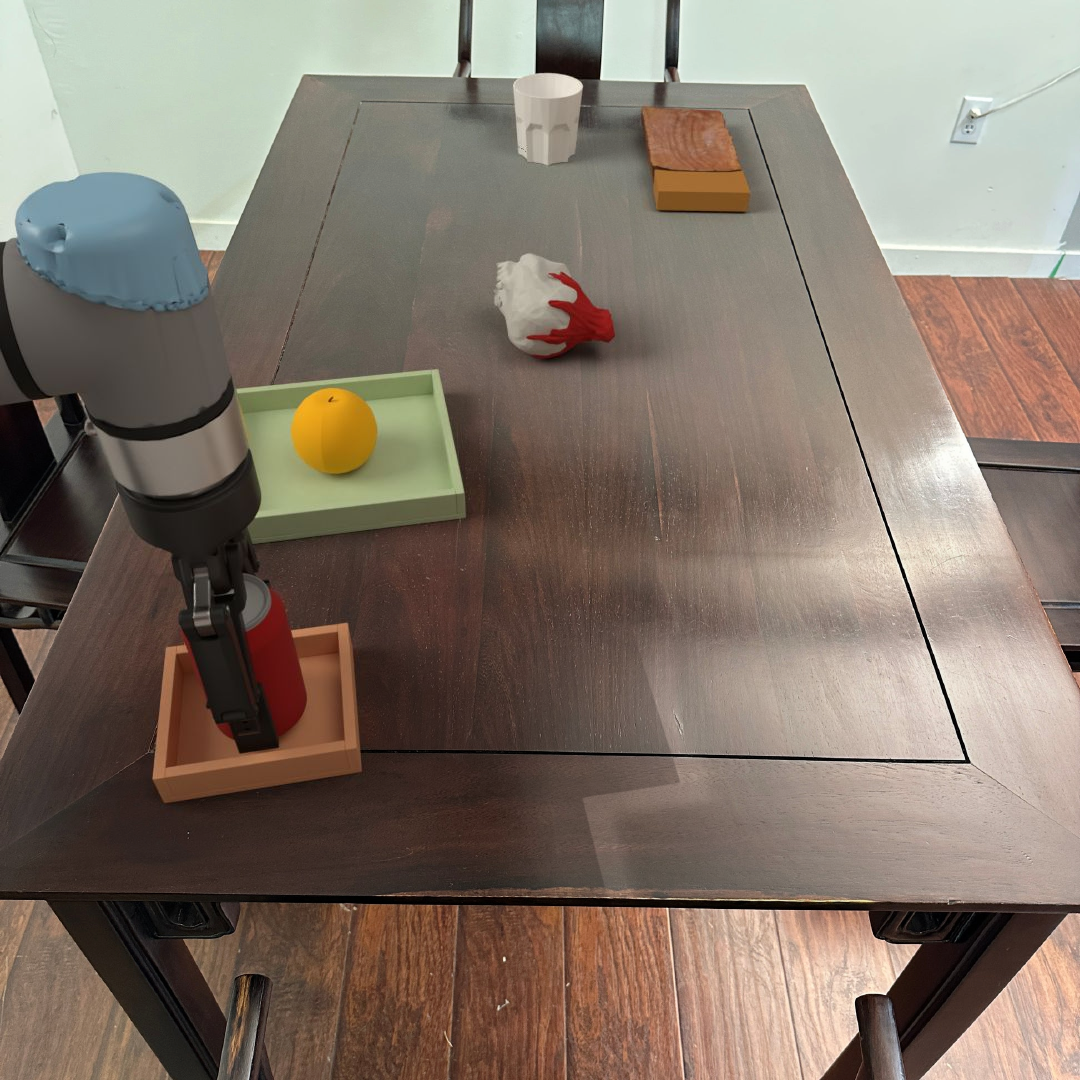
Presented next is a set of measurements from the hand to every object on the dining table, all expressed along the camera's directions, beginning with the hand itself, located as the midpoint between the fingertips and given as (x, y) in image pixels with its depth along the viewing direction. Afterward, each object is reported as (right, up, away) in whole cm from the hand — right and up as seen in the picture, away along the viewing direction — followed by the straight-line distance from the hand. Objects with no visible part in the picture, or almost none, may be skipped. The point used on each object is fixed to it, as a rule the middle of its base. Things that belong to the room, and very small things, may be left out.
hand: (259, 703), depth 70 cm
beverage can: (0, -1, +1) cm, 1 cm away
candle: (+21, +34, +38) cm, 56 cm away
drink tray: (0, -2, +2) cm, 2 cm away
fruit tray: (+1, +19, +23) cm, 30 cm away
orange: (+1, +19, +22) cm, 30 cm away
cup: (+21, +70, +76) cm, 105 cm away
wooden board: (+43, +67, +73) cm, 108 cm away
